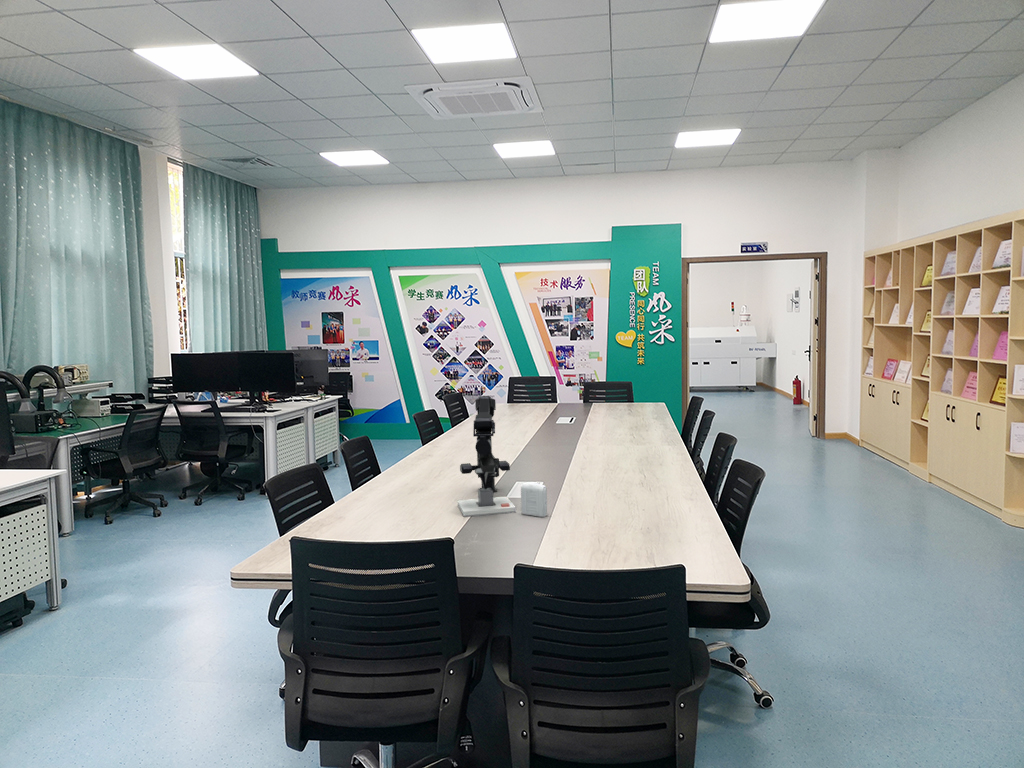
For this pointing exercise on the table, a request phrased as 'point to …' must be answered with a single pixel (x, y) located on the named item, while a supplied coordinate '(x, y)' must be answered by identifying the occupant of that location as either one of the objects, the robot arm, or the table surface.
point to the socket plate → (486, 507)
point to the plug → (485, 497)
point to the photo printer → (534, 499)
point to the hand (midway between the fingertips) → (485, 488)
